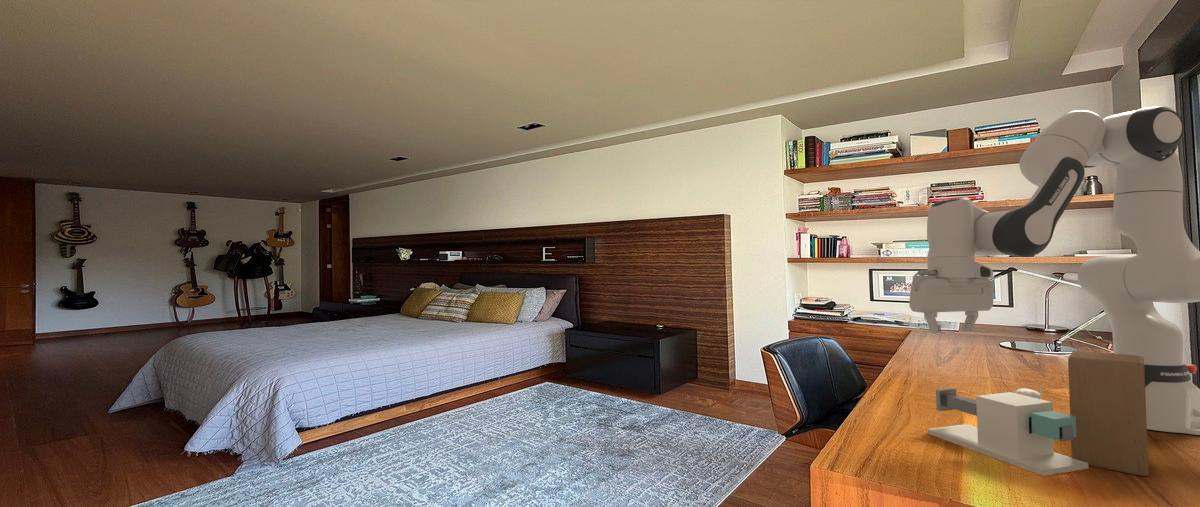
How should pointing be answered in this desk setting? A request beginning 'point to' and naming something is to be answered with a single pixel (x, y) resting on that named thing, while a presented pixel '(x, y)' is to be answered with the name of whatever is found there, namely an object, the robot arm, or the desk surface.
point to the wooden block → (1109, 411)
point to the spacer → (1051, 423)
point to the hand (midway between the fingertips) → (951, 331)
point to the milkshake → (1029, 392)
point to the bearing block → (1010, 434)
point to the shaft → (951, 401)
